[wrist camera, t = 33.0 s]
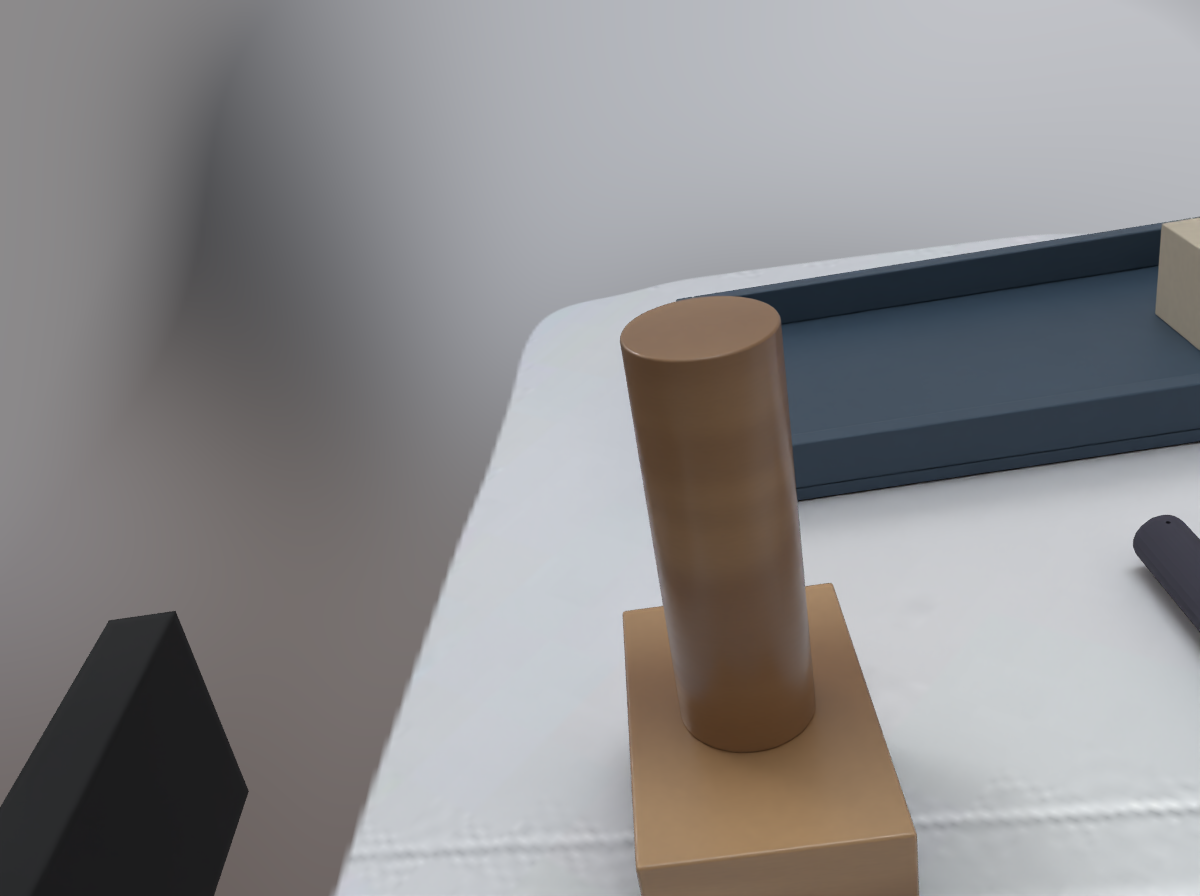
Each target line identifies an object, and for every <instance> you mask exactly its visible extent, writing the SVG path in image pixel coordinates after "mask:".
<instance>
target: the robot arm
mask: <svg viewBox="0 0 1200 896" xmlns="http://www.w3.org/2000/svg"><path fill="white" fill-rule="evenodd" d="M248 792H249V791H248V788H247V786H246V784H245V781H244V779H243V776H242V774H241V771H240V769H239V767H238V764H237V761H236V759H235V757H234V754H233V752H232V749H231V747H230V744H229V742H228V739H227V737H226V734H225V732H224V729H223V727H222V725H221V722H220V720H219V717H218V715H217V712H216V710H215V708H214V705H213V702H212V700H211V697H210V695H209V693H208V690H207V688H206V685H205V683H204V680H203V678H202V675H201V673H200V670H199V668H198V665H197V663H196V660H195V658H194V656H193V653H192V651H191V648H190V646H189V643H188V641H187V638H186V636H185V633H184V631H183V628H182V626H181V624H180V621H179V619H178V616H177V614H176V611H172V612H165V613H158V614H151V615H144V616H138V617H130V618H123V619H116V620H110V621H108V623H107V625H106V627H105V629H104V630H103V632H102V634H101V635H100V637H99V639H98V640H97V642H96V644H95V646H94V647H93V649H92V651H91V652H90V654H89V656H88V658H87V659H86V661H85V663H84V665H83V666H82V668H81V670H80V671H79V673H78V675H77V676H76V678H75V680H74V682H73V683H72V685H71V687H70V689H69V690H68V692H67V694H66V695H65V697H64V699H63V701H62V702H61V704H60V706H59V707H58V709H57V711H56V713H55V714H54V716H53V718H52V720H51V721H50V723H49V725H48V726H47V728H46V730H45V731H44V733H43V735H42V737H41V738H40V740H39V742H38V743H37V745H36V747H35V749H34V750H33V752H32V754H31V755H30V757H29V759H28V761H27V762H26V764H25V766H24V768H23V769H22V771H21V773H20V774H19V776H18V778H17V780H16V781H15V783H14V785H13V787H12V788H11V790H10V792H9V793H8V795H7V797H6V798H5V800H4V802H3V804H2V805H1V807H0V896H214V894H215V891H216V887H217V884H218V881H219V879H220V876H221V873H222V870H223V866H224V863H225V861H226V858H227V855H228V852H229V849H230V846H231V843H232V839H233V836H234V834H235V831H236V828H237V825H238V822H239V818H240V816H241V813H242V810H243V806H244V804H245V801H246V798H247V795H248Z"/></svg>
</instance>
